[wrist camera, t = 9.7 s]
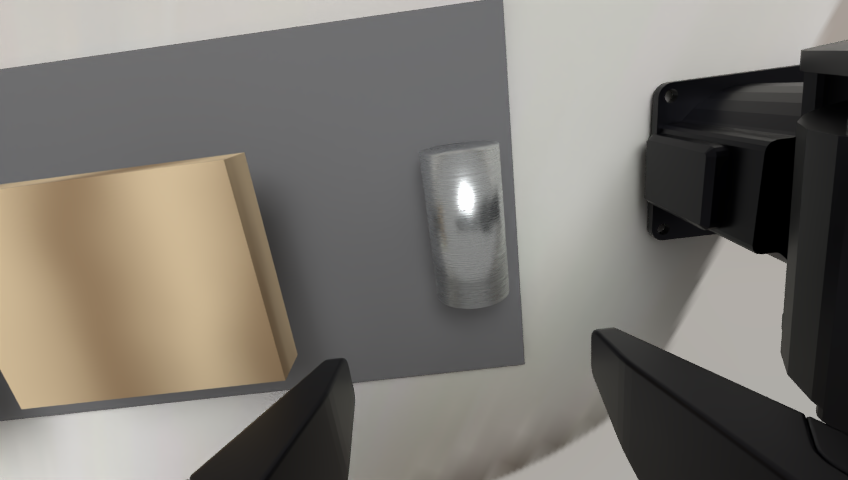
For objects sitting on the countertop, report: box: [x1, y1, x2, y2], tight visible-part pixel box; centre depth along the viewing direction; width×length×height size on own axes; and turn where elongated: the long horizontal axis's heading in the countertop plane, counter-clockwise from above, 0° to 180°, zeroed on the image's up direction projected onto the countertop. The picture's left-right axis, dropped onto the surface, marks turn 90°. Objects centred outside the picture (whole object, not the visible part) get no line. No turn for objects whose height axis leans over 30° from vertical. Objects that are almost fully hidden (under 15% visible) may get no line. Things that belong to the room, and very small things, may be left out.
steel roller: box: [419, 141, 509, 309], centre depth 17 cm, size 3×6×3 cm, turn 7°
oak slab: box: [0, 152, 298, 409], centre depth 15 cm, size 10×8×2 cm
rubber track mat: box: [0, 0, 525, 421], centre depth 19 cm, size 30×16×1 cm, turn 97°
